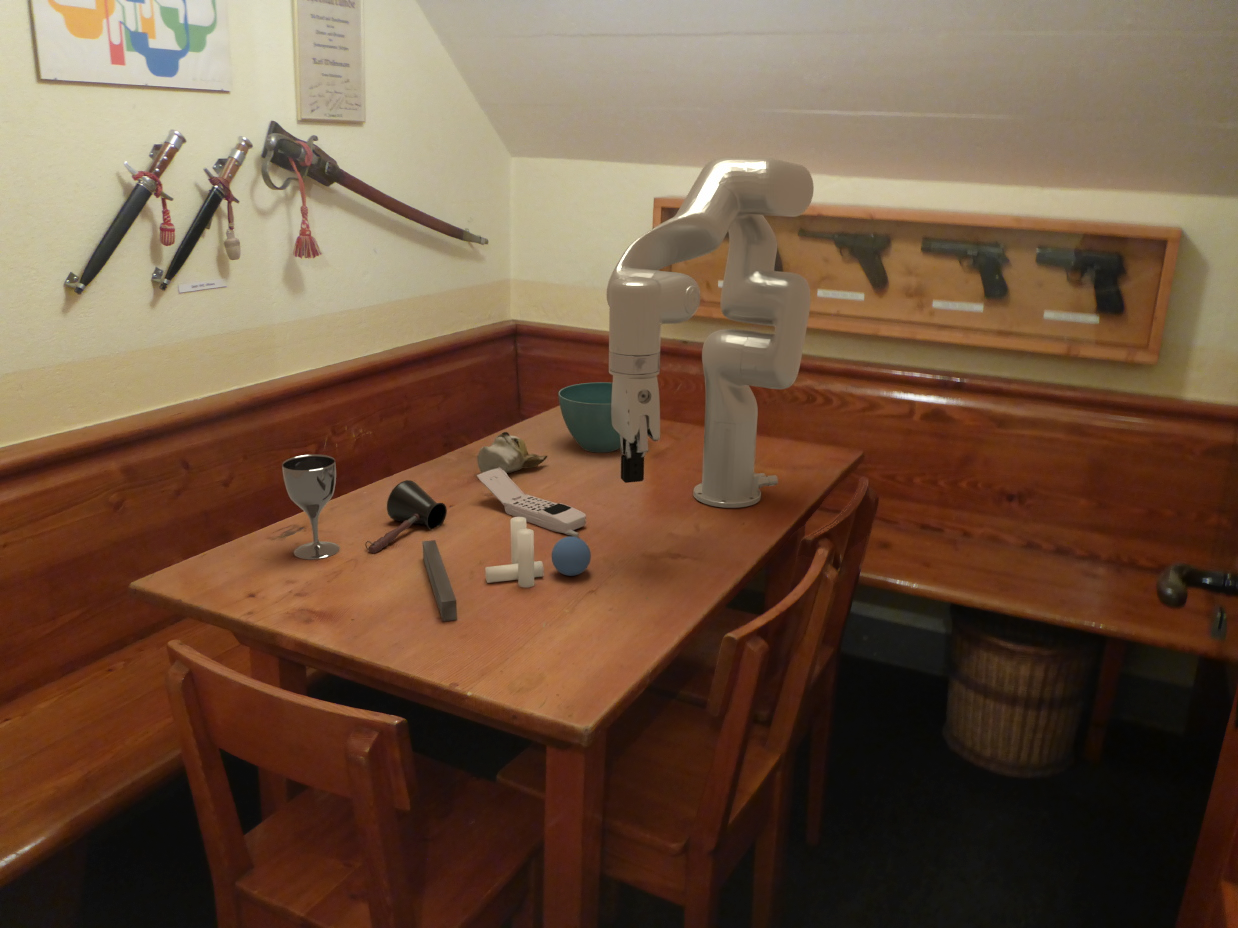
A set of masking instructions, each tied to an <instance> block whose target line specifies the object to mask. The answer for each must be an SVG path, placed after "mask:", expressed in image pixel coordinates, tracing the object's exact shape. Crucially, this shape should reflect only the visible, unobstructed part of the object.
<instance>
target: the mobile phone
mask: <svg viewBox="0 0 1238 928" xmlns="http://www.w3.org/2000/svg"><path fill="white" fill-rule="evenodd" d="M476 477H477V478H478V479H479V481H480V482H481V483H482V484H483V485H484V487H485V488H486V489H488V490H489V492H490V493H491V494H492V495H493V496H494V497H495V498H496V499H497V500H498V501H499V502H500V503H501V504H502V505H503V506H504V511H505V513H506V514H507V515H510V516H513V517H524V518H526V523H530V524H533V525H535V526H539V527H541V528H544V529H546V530H550V531H551V532H555V533H562V534H565V535H567V536H570V537H571V536H572V537H577V538H579V536H580V533H579V532H577V531H575V530H577V529H580V528H582V527H585V526H586V525H587V516H586V513H584V512H582V511H581V510H578V509H577V508H574V507H572V506H570V505H567V504H565V503H561V502H558V503H556V502H553V501H551V500H546V499H543V498H540V497H536V496H532V495H531V494H530V495H529V494H528V493H527V494H525V493H524V491H522V490H521V488H520V487H519V486H518V484H516V483H515V482H514V481H513V480H512V479H511V477H509V475H508V474H507V473H506V472H505V471H504V470H502V469H501V468H497V469H493V470H489V471H486V472H483V473H481V472H480V473H479V474H476Z"/></svg>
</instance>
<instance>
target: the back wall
mask: <svg viewBox="0 0 1238 928" xmlns="http://www.w3.org/2000/svg"><path fill="white" fill-rule="evenodd" d="M422 558H423V562H424V567H425V569H426V572H427V575H428V578H429V582H430V586H431V588H432V592H433V595H434V598H435V601H436V604H437V608H438V611H439V614H440V618H441V621H442V622H443V623H444V622H451V621H452V622H453V621H457V620H458V613H457V612H458V608H457V599H456V596H455V593H454V592H455V591H454V590H453V587H452V585H451V581H450V579H449V576H448V573H447V570H446V567H445V563H444V562H443V559H442V555H441V553H440V550H439V548H438V545H437V541H436V539H434V540H433V539H432V540H424V541H422Z"/></svg>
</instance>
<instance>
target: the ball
mask: <svg viewBox="0 0 1238 928" xmlns="http://www.w3.org/2000/svg"><path fill="white" fill-rule="evenodd" d="M591 556H592V555H591V550H590V548H589V545H588V544H587V542H586V541H584V540H583V539H582V538H580V537H574V536H571V535H570V536H566V537H563V538H561V539H559V540H558V541H557V542H556V543H555V544H554V546H553V548H552V551H551V561H552V565H553V566H554V568H555V569H556V570H557V571H558V572H559V573H561V574H562V575H564V576H568V577H574V576H578V575H581V574H582V573H583V572H585V570H586V569H587V568H588V567H589V565H590V562H591V559H592V557H591Z"/></svg>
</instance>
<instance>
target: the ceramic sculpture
mask: <svg viewBox="0 0 1238 928" xmlns="http://www.w3.org/2000/svg"><path fill="white" fill-rule="evenodd" d="M476 457H477V458H476V459H477V467H478V469H479V472H480V474H481V473H483V472H486V471H489V470H493V469H497V468H501V469H502V470H504V471H505V472H506V473H509V474H510V473H513V472H516V471H519V470H521V469H523V468H524V469H531V468H532V469H533V468H535V467H537V466H540V465H541V464H542V463H543V462H544V461H546V459H547V458H548V455H538V454H536V453H529V452H528V449H527V445H526V443H525V441H524V440H523V439H522V438H520V437H518V436H515V435H511V434H510V433H509V432H507V431H505V432H502V433H501V434H498V435H497V436H496V437H495V438H494V440H493V441H492V444H491V445H490V446H486V445H484V446H482V447H481V448H480V449H479V451H478V454H477V456H476Z"/></svg>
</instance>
